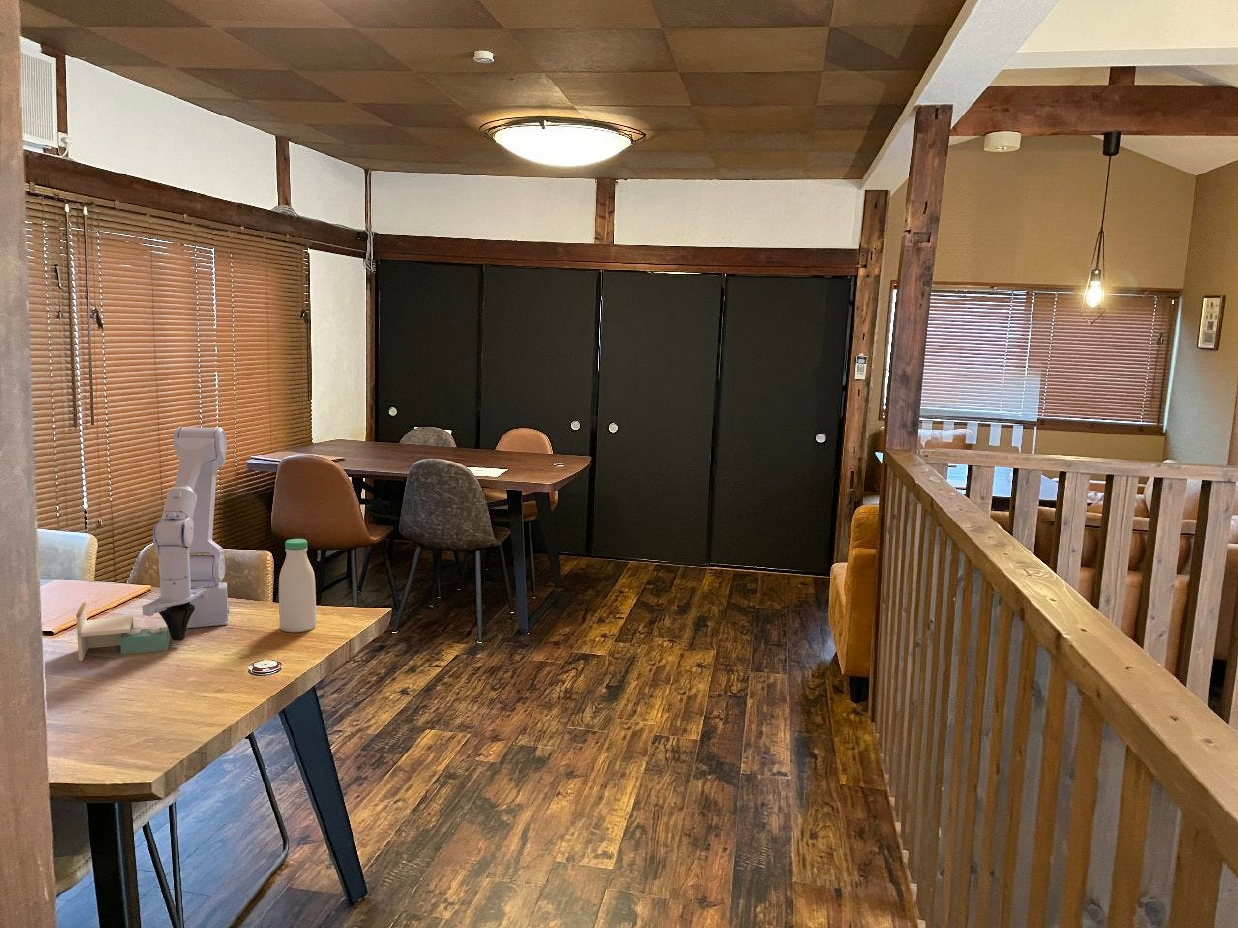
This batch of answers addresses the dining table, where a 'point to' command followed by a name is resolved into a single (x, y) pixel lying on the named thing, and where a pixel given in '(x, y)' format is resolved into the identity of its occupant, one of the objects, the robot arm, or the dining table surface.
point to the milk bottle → (297, 589)
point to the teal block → (145, 640)
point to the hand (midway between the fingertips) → (177, 639)
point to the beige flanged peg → (99, 631)
